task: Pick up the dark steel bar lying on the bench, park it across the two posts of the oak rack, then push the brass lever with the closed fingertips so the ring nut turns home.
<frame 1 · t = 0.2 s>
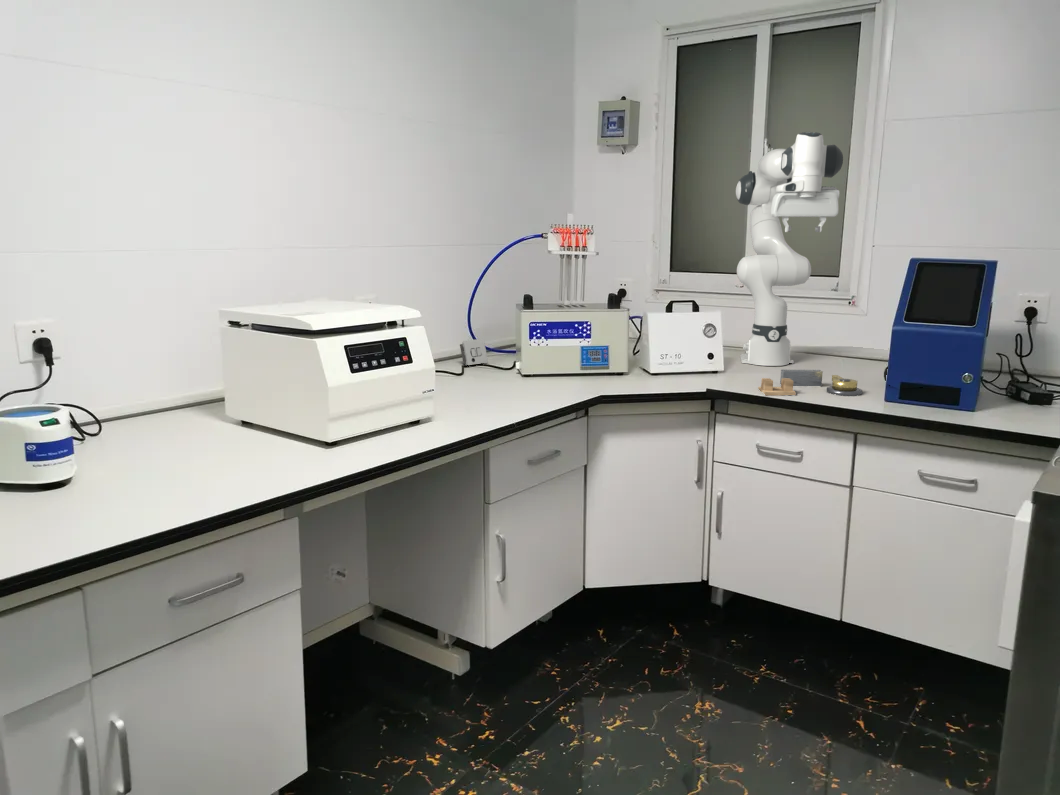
hand: (803, 232, 248), 47 cm above the lab bench, tool pointing down, fingers open, 8 cm apart
electrical switch: (473, 365, 286), on the lab bench
nut base: (843, 392, 239), on the lab bench
ring nut: (841, 382, 241), point 3 cm above the lab bench, hinge at 0.0°
rack: (776, 392, 239), on the lab bench
bar: (800, 386, 249), on the lab bench
end cap: (903, 387, 248), on the lab bench
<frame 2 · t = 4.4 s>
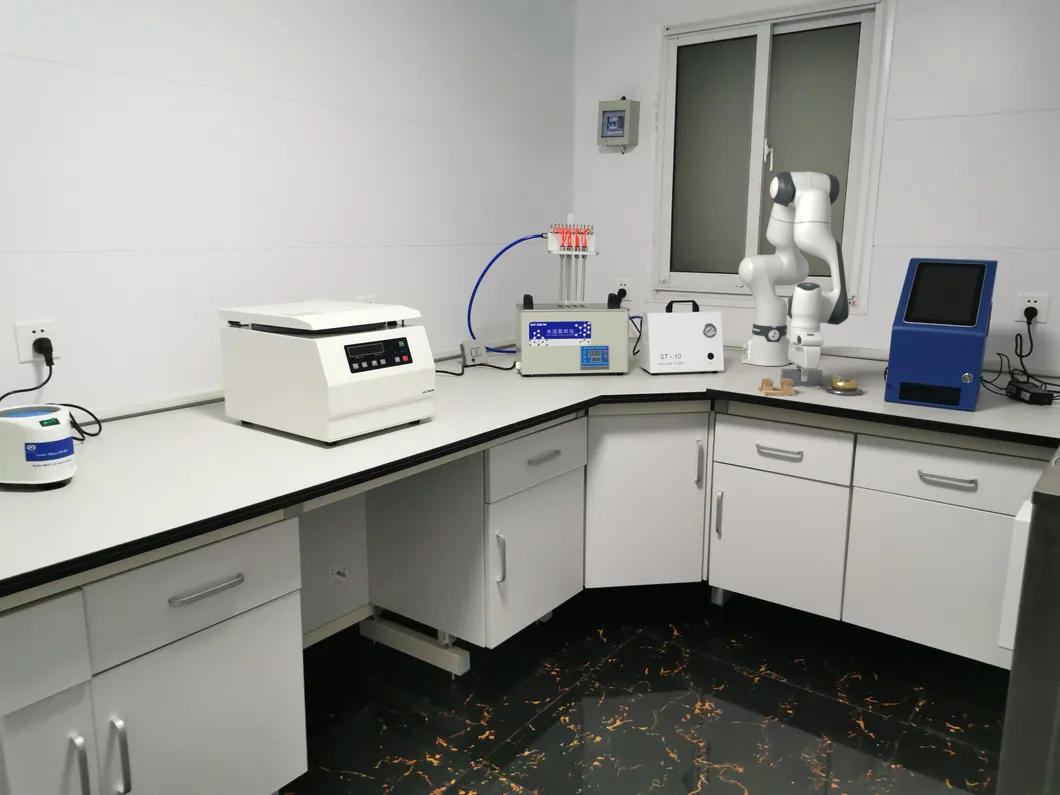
hand: (801, 379, 249), 2 cm above the lab bench, tool pointing down, fingers closed on bar, 3 cm apart
bar: (800, 385, 249), on the lab bench, touching gripper
everything else where it was.
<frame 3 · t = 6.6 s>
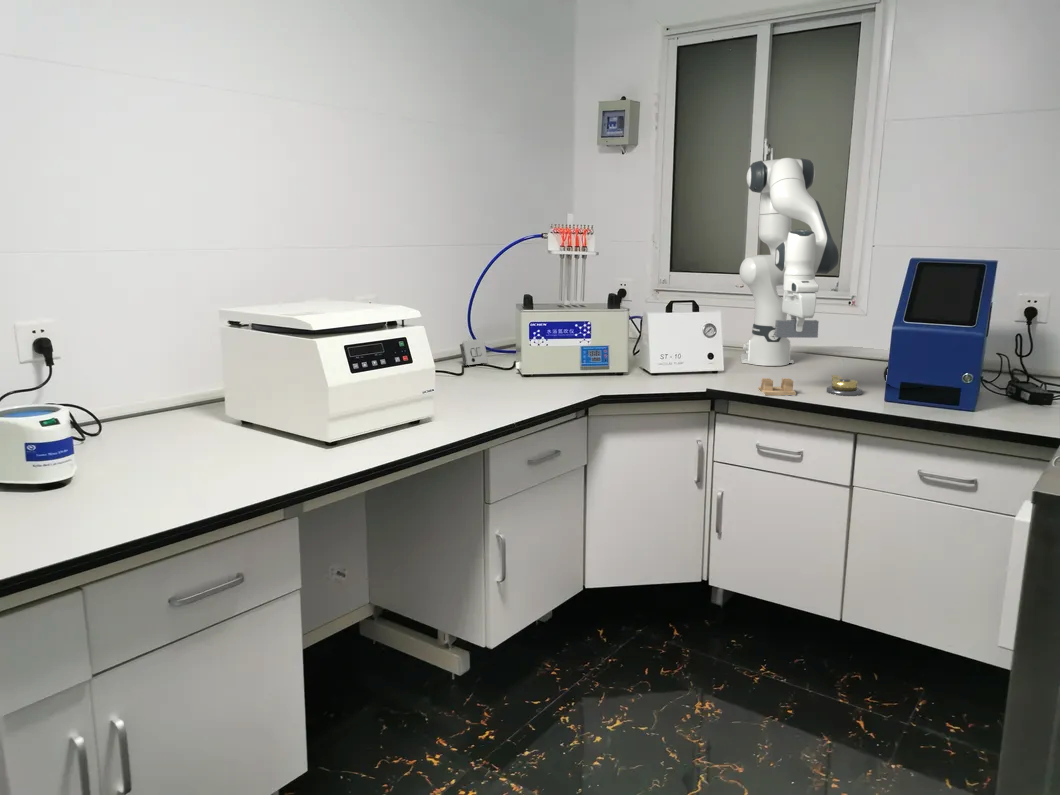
hand: (796, 330, 240), 18 cm above the lab bench, tool pointing down, fingers closed on bar, 3 cm apart
bar: (796, 336, 241), point 16 cm above the lab bench, touching gripper
everything else where it was.
when the fingers open (7 cm above the lab bench, at t = 9.2 s): bar drops 1 cm, resting on rack.
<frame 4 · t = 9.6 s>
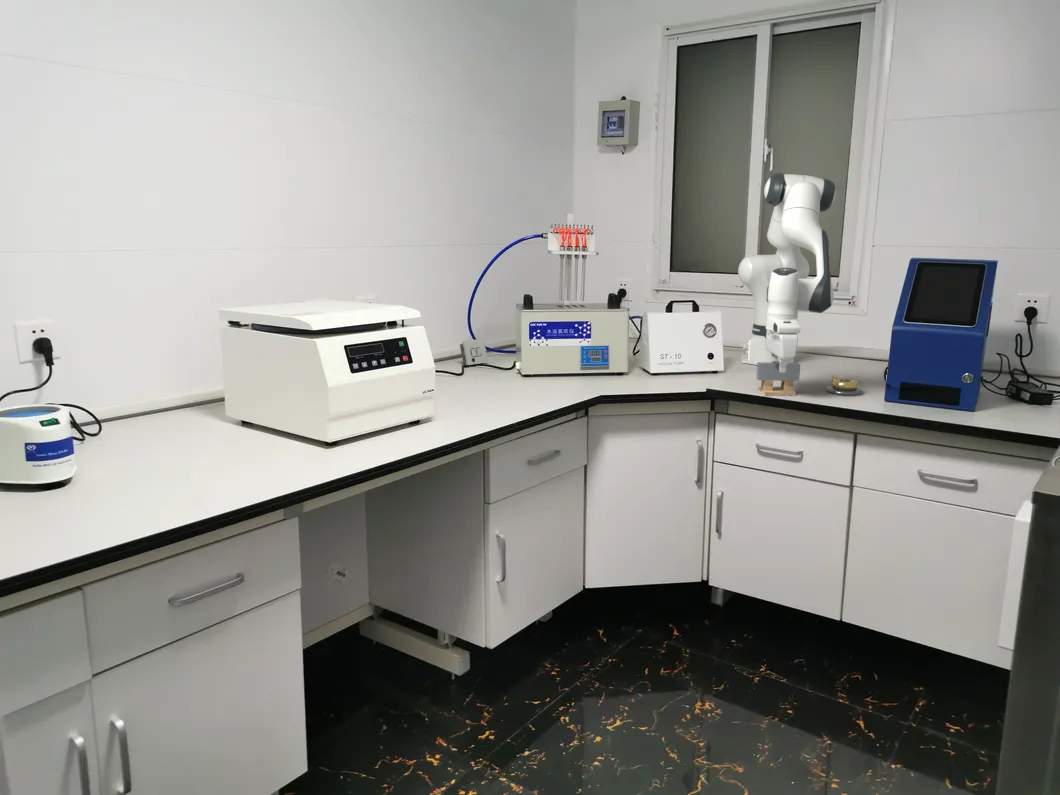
hand: (778, 369, 237), 7 cm above the lab bench, tool pointing down, fingers open, 7 cm apart
bar: (777, 379, 238), point 4 cm above the lab bench, touching rack
everything else where it was.
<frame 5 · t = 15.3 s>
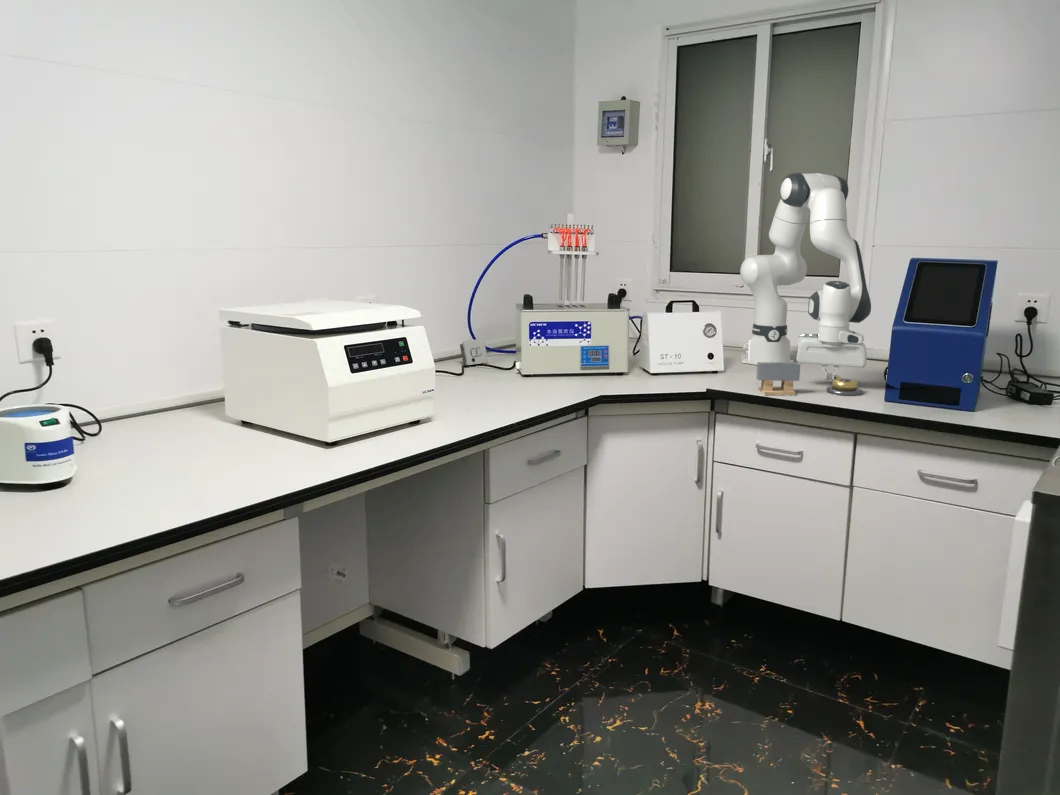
hand: (829, 379, 245), 3 cm above the lab bench, tool pointing down, fingers closed
ring nut: (841, 382, 241), point 3 cm above the lab bench, hinge at 0.0°, touching gripper
everything else where it was.
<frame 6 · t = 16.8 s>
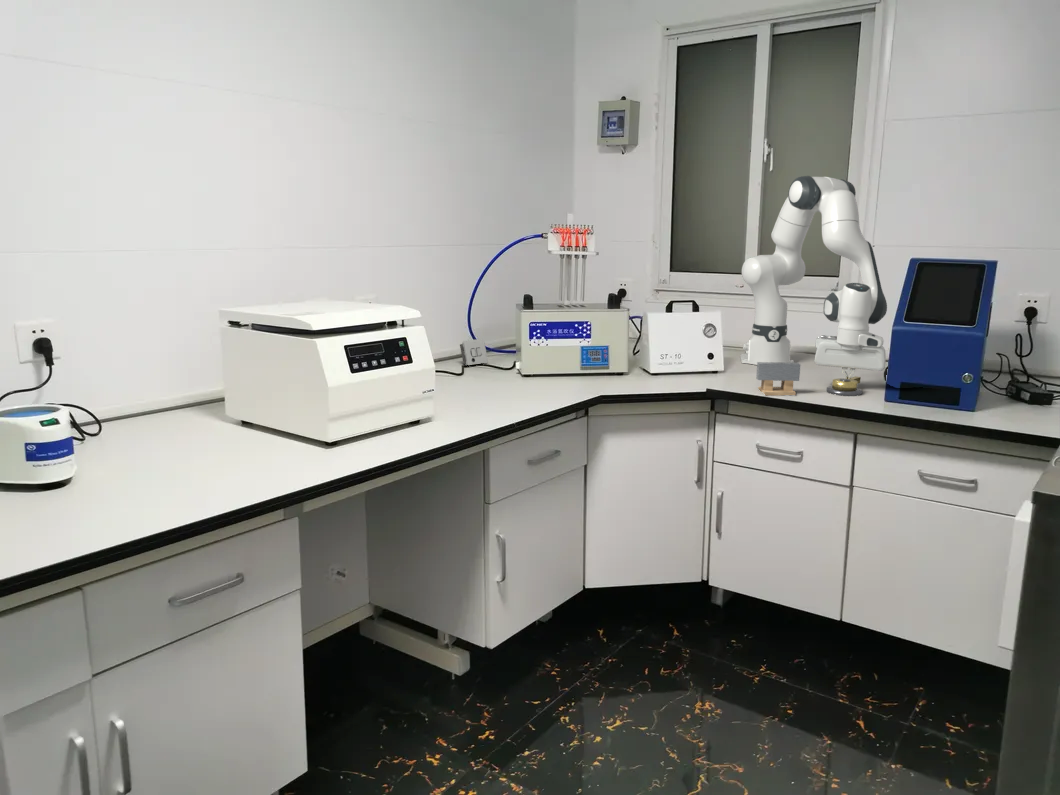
hand: (847, 381, 244), 2 cm above the lab bench, tool pointing down, fingers closed, pressing on ring nut
ring nut: (848, 382, 240), point 3 cm above the lab bench, hinge at 44.3°, touching gripper
everything else where it was.
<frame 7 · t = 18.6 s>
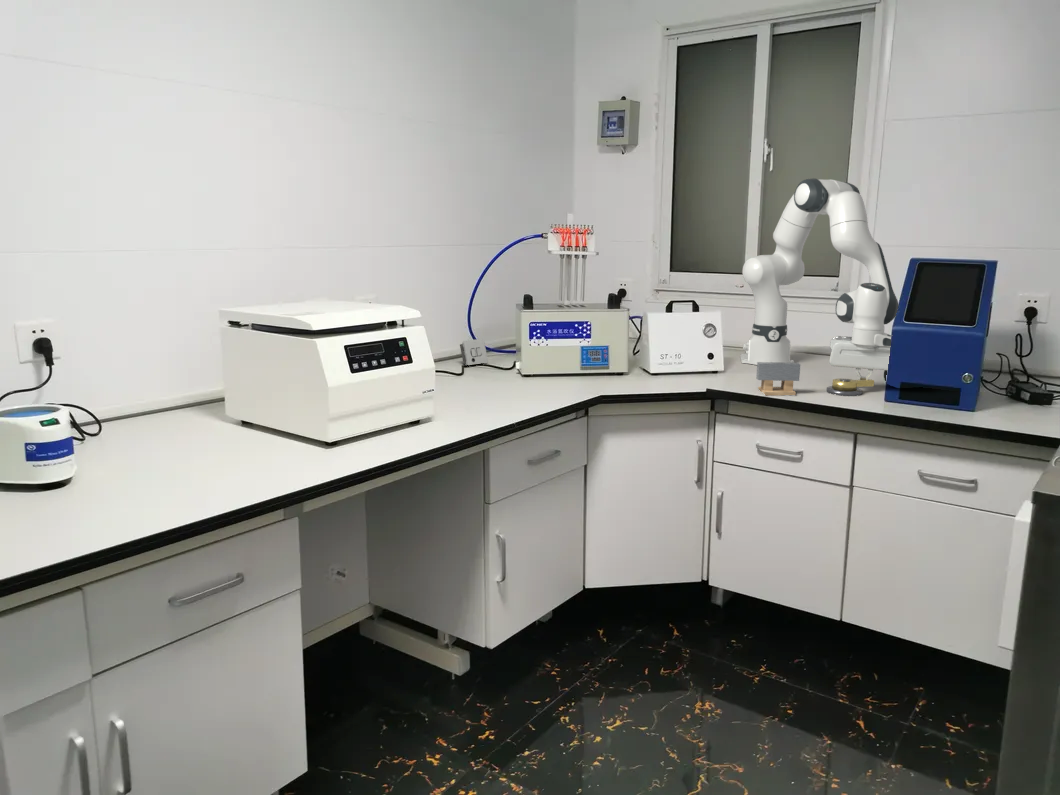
hand: (862, 382, 242), 2 cm above the lab bench, tool pointing down, fingers closed
ring nut: (853, 383, 239), point 3 cm above the lab bench, hinge at 80.2°, touching gripper
everything else where it was.
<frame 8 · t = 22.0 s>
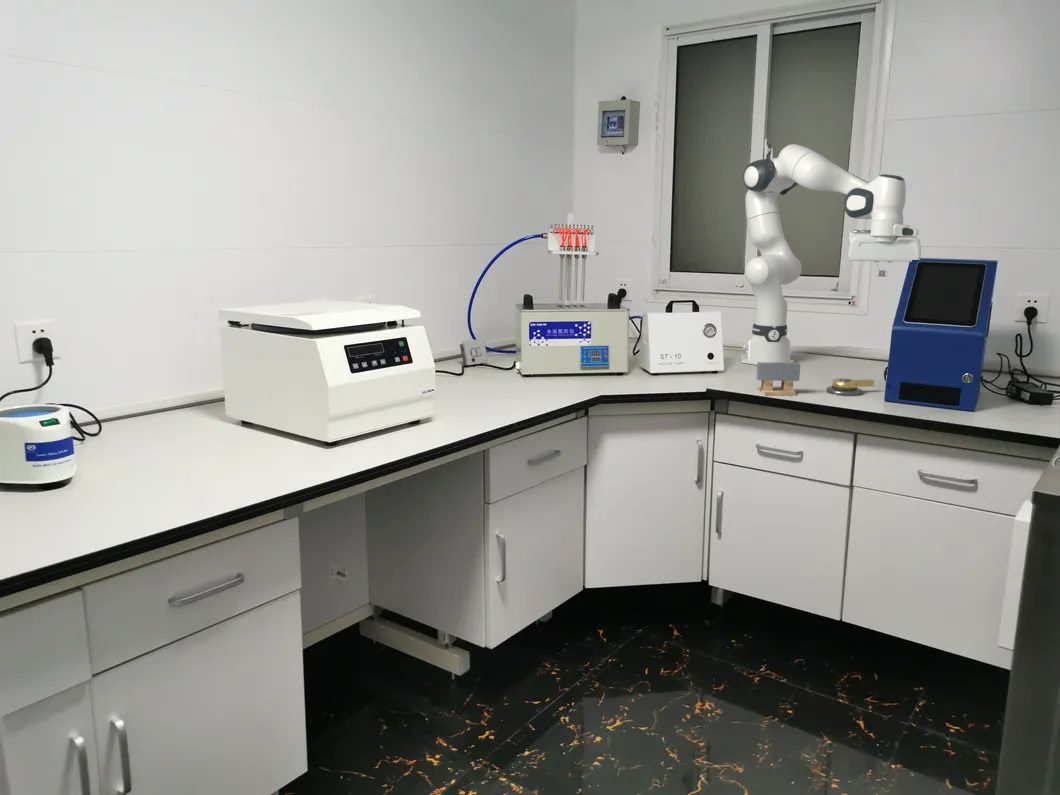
hand: (881, 276, 241), 34 cm above the lab bench, tool pointing down, fingers closed
ring nut: (853, 383, 239), point 3 cm above the lab bench, hinge at 80.4°
everything else where it was.
at the end: bar inside the target area on the rack (0.1 cm from its centre), point 4.0 cm above the rack's base; ring nut at +80° (first picture: +0°) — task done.
